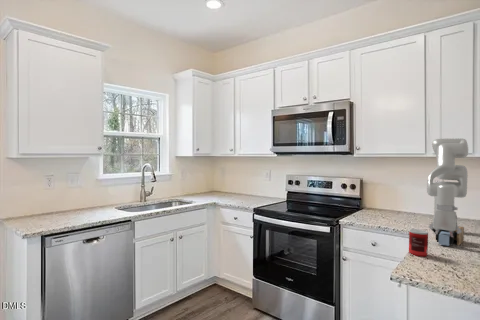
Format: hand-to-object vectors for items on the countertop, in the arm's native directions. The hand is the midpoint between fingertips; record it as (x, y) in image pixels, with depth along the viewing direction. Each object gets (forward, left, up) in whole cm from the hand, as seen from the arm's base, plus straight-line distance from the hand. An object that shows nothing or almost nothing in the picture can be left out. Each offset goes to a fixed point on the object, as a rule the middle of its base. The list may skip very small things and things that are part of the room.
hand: (444, 242), depth 157 cm
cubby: (-13, 0, -2) cm, 13 cm away
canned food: (+28, -4, -2) cm, 28 cm away
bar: (-3, 0, -1) cm, 4 cm away
